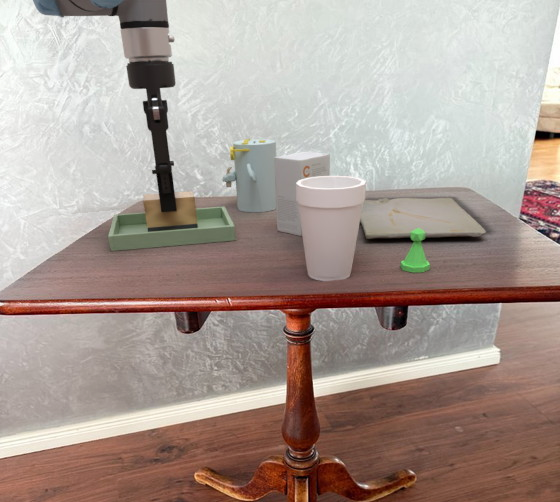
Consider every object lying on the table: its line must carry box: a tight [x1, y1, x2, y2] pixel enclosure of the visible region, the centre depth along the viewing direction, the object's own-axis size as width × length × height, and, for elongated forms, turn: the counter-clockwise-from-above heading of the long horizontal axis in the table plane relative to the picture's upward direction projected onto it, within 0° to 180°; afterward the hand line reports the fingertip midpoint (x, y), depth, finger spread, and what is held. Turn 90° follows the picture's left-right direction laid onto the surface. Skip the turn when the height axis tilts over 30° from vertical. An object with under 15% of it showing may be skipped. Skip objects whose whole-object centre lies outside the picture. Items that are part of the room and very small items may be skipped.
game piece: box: [400, 228, 431, 274], centre depth 80 cm, size 4×4×6 cm
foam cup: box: [296, 175, 367, 282], centre depth 77 cm, size 10×9×13 cm
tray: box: [107, 206, 237, 252], centre depth 101 cm, size 22×16×3 cm
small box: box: [274, 151, 331, 237], centre depth 98 cm, size 8×6×13 cm
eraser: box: [142, 190, 198, 232], centre depth 99 cm, size 9×5×6 cm, turn 101°
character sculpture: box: [221, 138, 277, 213], centre depth 114 cm, size 20×12×13 cm, turn 179°
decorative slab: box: [360, 197, 487, 240], centre depth 103 cm, size 27×21×2 cm
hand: (168, 207), depth 99 cm, fingers closed on eraser, 5 cm apart
